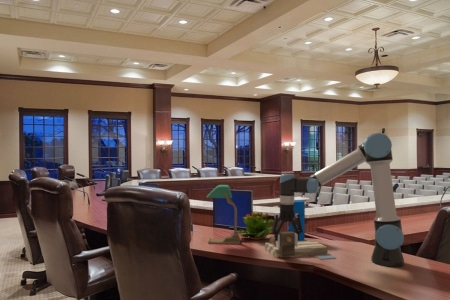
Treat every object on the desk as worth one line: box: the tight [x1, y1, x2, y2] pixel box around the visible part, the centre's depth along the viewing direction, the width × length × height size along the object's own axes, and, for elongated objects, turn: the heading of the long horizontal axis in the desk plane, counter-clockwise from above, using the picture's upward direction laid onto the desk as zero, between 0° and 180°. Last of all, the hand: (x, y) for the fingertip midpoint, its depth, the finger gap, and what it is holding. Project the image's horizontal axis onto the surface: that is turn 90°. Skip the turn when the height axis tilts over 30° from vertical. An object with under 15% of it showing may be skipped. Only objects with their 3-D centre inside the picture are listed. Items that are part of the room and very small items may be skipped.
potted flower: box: [237, 212, 274, 241], centre depth 232 cm, size 25×24×18 cm
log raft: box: [264, 240, 329, 259], centre depth 197 cm, size 16×30×4 cm, turn 104°
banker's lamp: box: [206, 184, 241, 245], centre depth 219 cm, size 16×21×35 cm
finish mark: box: [313, 253, 337, 260], centre depth 188 cm, size 8×9×1 cm
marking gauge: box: [269, 231, 295, 256], centre depth 192 cm, size 21×7×12 cm, turn 14°
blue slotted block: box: [287, 199, 306, 241], centre depth 227 cm, size 11×11×25 cm
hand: (286, 246), depth 185 cm, fingers open, 9 cm apart
